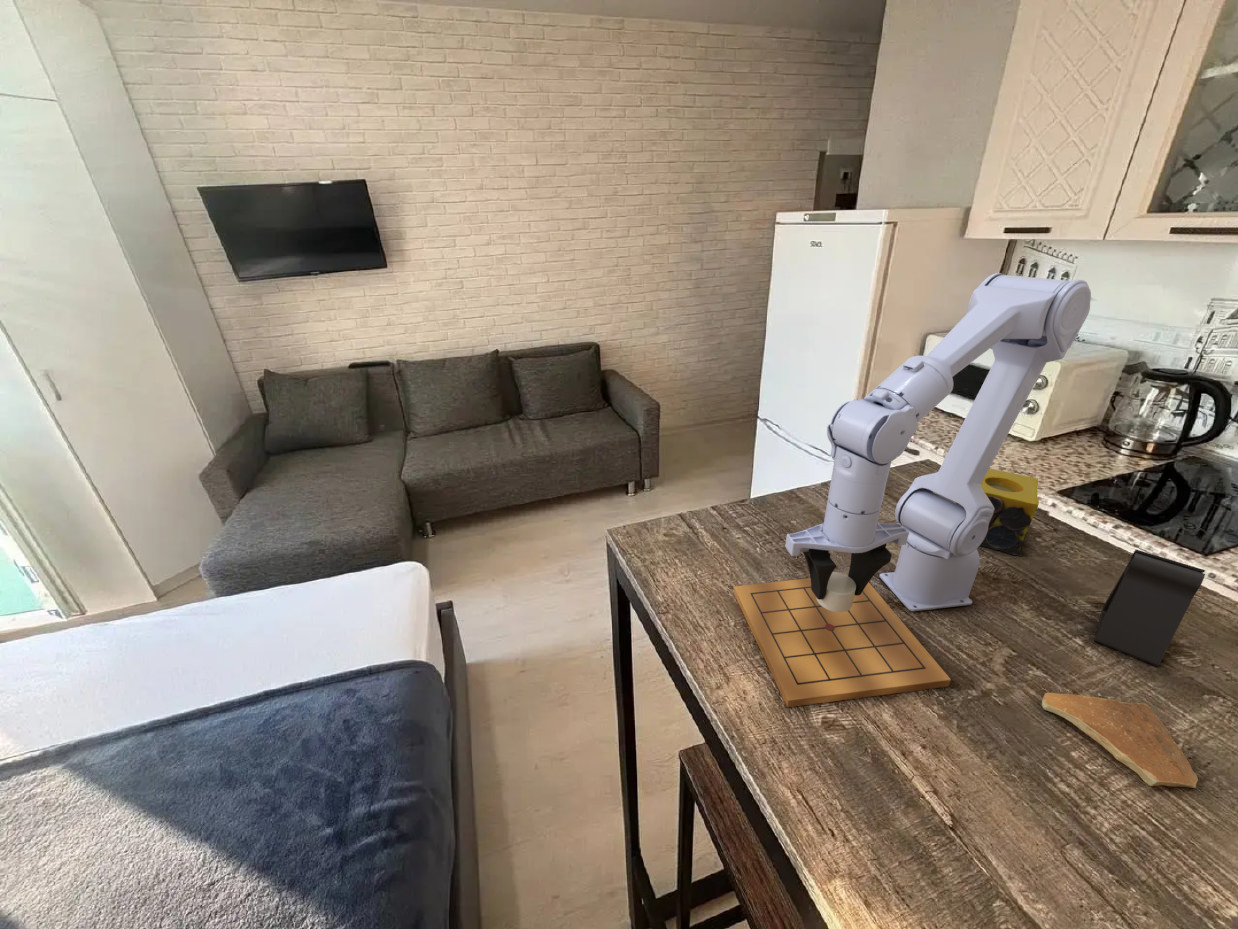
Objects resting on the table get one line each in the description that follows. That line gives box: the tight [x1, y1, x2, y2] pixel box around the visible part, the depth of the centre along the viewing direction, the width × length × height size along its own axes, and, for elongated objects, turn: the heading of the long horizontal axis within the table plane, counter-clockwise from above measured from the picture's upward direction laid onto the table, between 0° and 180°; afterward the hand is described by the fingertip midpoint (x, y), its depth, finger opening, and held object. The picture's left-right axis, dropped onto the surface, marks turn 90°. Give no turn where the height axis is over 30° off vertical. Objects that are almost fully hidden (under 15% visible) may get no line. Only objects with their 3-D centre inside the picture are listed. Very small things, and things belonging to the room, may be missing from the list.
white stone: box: [816, 571, 856, 612], centre depth 65 cm, size 4×4×3 cm
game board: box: [733, 573, 952, 708], centre depth 68 cm, size 20×20×1 cm
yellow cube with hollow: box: [955, 467, 1040, 556], centre depth 86 cm, size 10×10×10 cm
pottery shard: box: [1041, 692, 1199, 789], centre depth 53 cm, size 10×9×2 cm
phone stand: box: [1093, 549, 1206, 667], centre depth 64 cm, size 9×6×12 cm, turn 134°
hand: (835, 592), depth 66 cm, fingers closed on white stone, 4 cm apart
